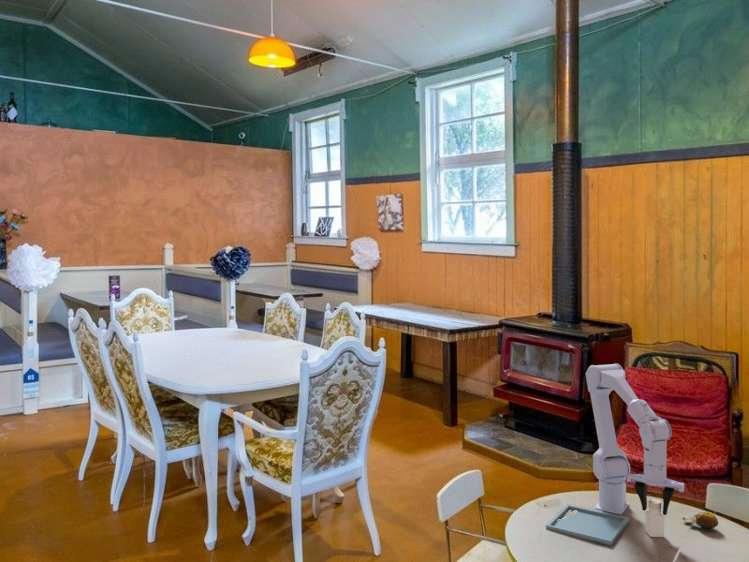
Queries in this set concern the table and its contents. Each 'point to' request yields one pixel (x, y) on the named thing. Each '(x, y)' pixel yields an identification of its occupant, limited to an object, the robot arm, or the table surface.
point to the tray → (589, 525)
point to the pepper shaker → (654, 519)
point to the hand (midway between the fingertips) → (654, 511)
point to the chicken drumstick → (704, 520)
